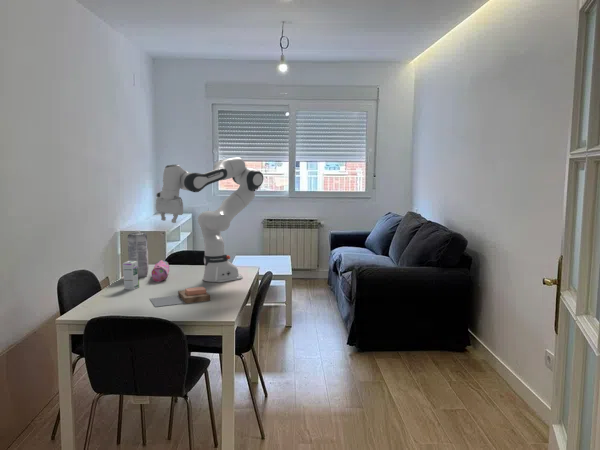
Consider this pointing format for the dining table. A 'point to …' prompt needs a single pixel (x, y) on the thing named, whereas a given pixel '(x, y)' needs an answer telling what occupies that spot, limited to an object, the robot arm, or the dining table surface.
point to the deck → (193, 297)
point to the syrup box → (131, 275)
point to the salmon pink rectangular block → (195, 290)
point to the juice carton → (138, 251)
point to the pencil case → (160, 271)
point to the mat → (167, 301)
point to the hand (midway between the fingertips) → (168, 221)
